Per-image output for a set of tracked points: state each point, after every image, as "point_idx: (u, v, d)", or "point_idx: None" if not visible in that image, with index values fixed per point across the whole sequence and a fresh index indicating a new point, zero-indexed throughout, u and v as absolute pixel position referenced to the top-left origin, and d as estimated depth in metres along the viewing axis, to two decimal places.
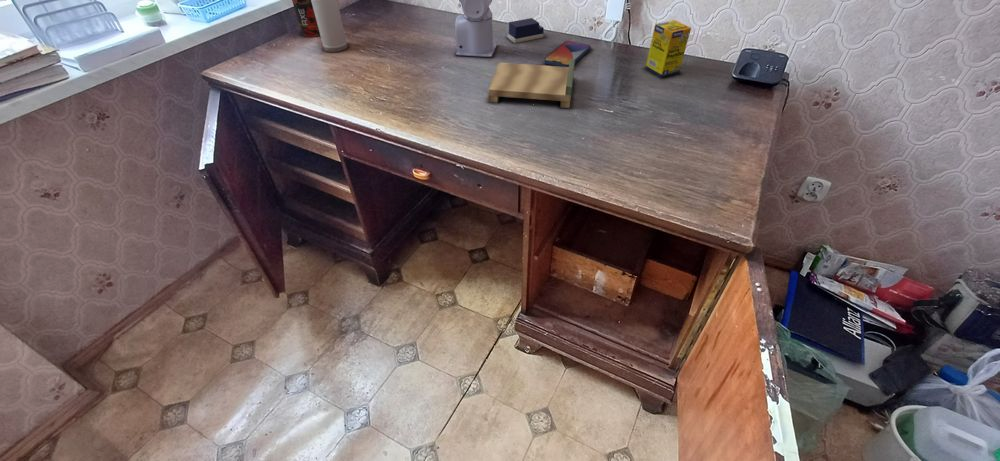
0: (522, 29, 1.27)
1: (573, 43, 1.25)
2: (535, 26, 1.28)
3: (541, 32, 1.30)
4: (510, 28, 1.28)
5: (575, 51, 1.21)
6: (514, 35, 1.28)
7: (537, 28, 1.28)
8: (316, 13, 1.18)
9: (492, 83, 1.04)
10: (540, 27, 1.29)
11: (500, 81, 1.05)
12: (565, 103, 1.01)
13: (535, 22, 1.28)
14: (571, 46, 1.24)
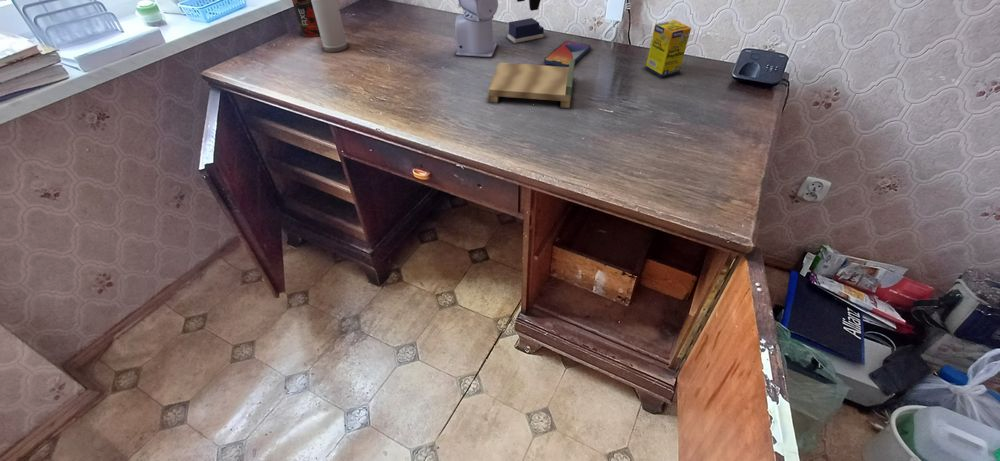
0: (522, 29, 1.27)
1: (573, 43, 1.25)
2: (535, 26, 1.28)
3: (541, 32, 1.30)
4: (510, 28, 1.28)
5: (575, 51, 1.21)
6: (514, 35, 1.28)
7: (537, 28, 1.28)
8: (316, 13, 1.18)
9: (492, 83, 1.04)
10: (540, 27, 1.29)
11: (500, 81, 1.05)
12: (565, 103, 1.01)
13: (535, 22, 1.28)
14: (571, 46, 1.24)
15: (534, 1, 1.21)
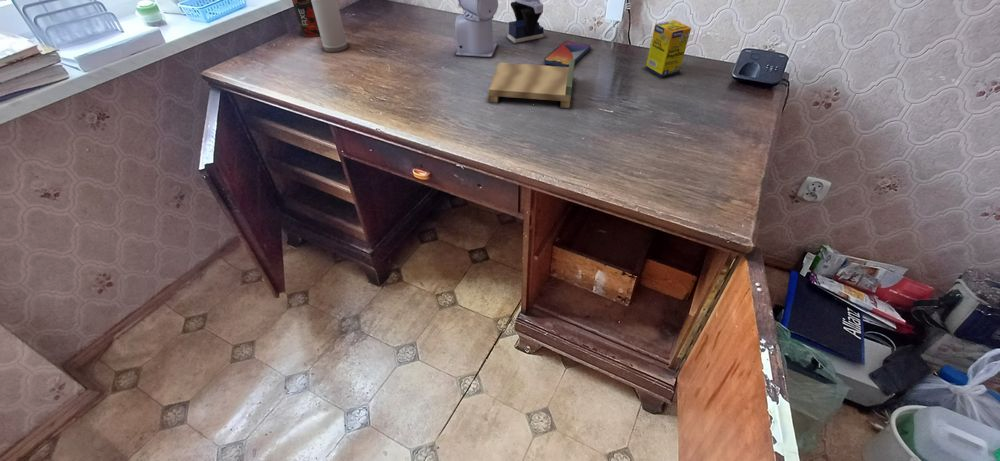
0: (522, 29, 1.27)
1: (573, 43, 1.25)
2: None
3: (541, 32, 1.30)
4: (510, 28, 1.28)
5: (575, 51, 1.21)
6: (514, 35, 1.28)
7: (537, 28, 1.28)
8: (316, 13, 1.18)
9: (492, 83, 1.04)
10: (540, 27, 1.29)
11: (500, 81, 1.05)
12: (565, 103, 1.01)
13: None
14: (571, 46, 1.24)
15: (529, 27, 1.26)
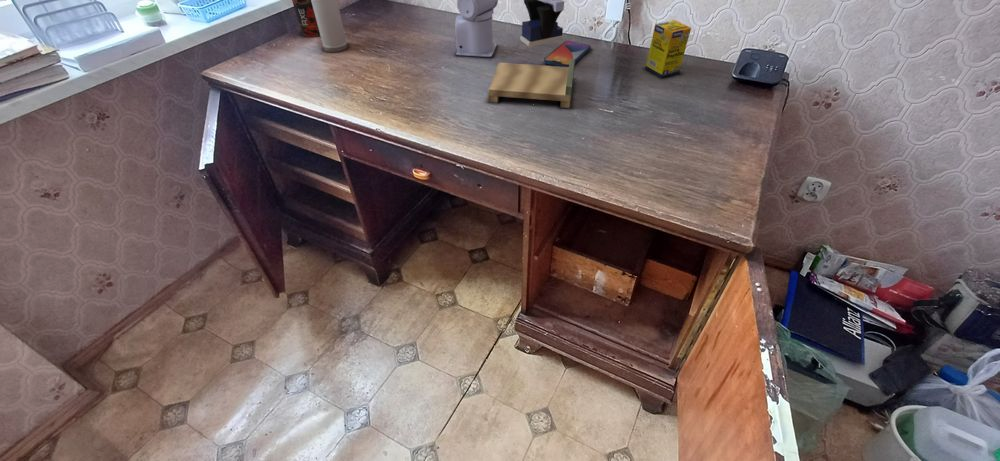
0: (538, 31, 1.07)
1: (573, 43, 1.25)
2: None
3: (560, 34, 1.10)
4: (523, 29, 1.09)
5: (575, 51, 1.21)
6: (528, 37, 1.08)
7: (555, 29, 1.09)
8: (316, 13, 1.18)
9: (492, 83, 1.04)
10: (559, 28, 1.10)
11: (500, 81, 1.05)
12: (565, 103, 1.01)
13: None
14: (571, 46, 1.24)
15: (547, 28, 1.07)
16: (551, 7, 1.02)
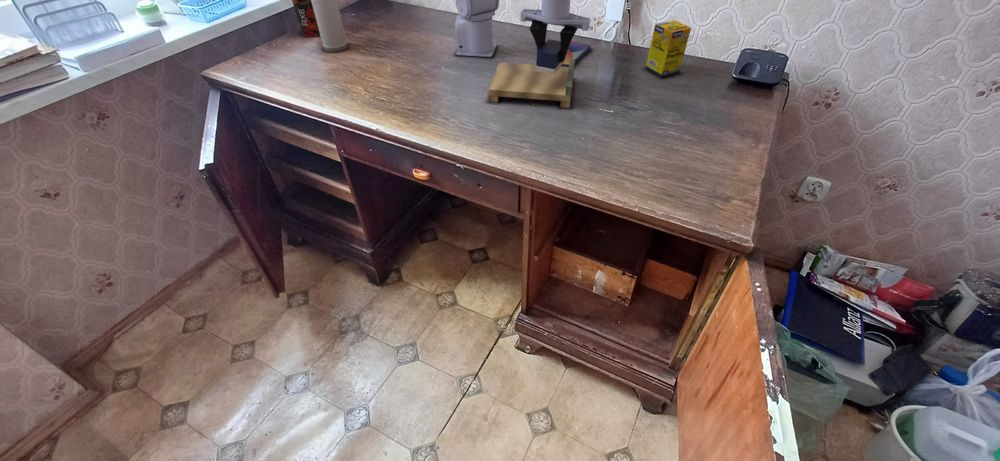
0: (558, 55, 0.99)
1: (573, 43, 1.25)
2: None
3: (566, 53, 1.04)
4: (540, 58, 0.99)
5: (575, 51, 1.21)
6: (551, 65, 0.99)
7: None
8: (316, 13, 1.18)
9: (492, 83, 1.04)
10: None
11: (500, 81, 1.05)
12: (565, 103, 1.01)
13: None
14: (571, 46, 1.24)
15: (564, 51, 1.00)
16: (575, 28, 0.95)
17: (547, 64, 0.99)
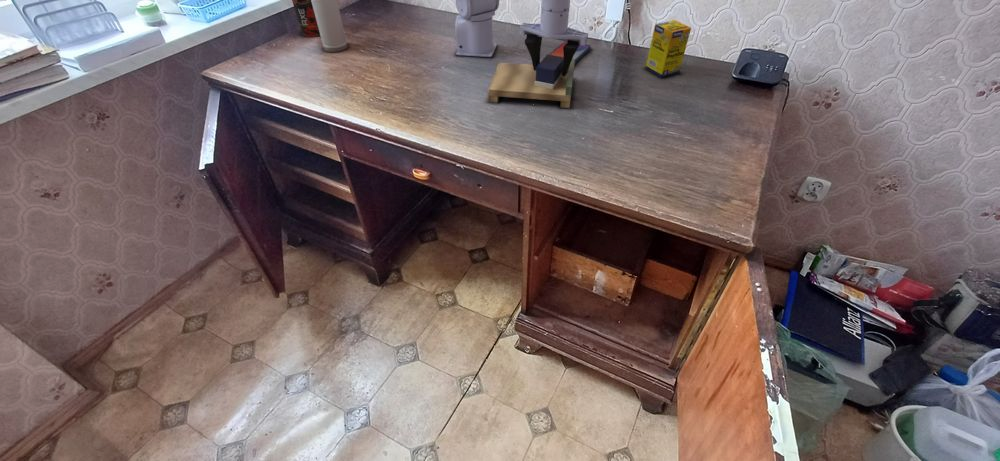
0: (557, 71, 1.01)
1: None
2: None
3: None
4: (540, 73, 1.01)
5: None
6: (550, 80, 1.01)
7: None
8: (316, 13, 1.18)
9: (492, 83, 1.04)
10: None
11: (500, 81, 1.05)
12: (565, 103, 1.01)
13: (561, 58, 1.04)
14: None
15: (567, 65, 1.01)
16: (578, 43, 0.97)
17: (546, 79, 1.01)
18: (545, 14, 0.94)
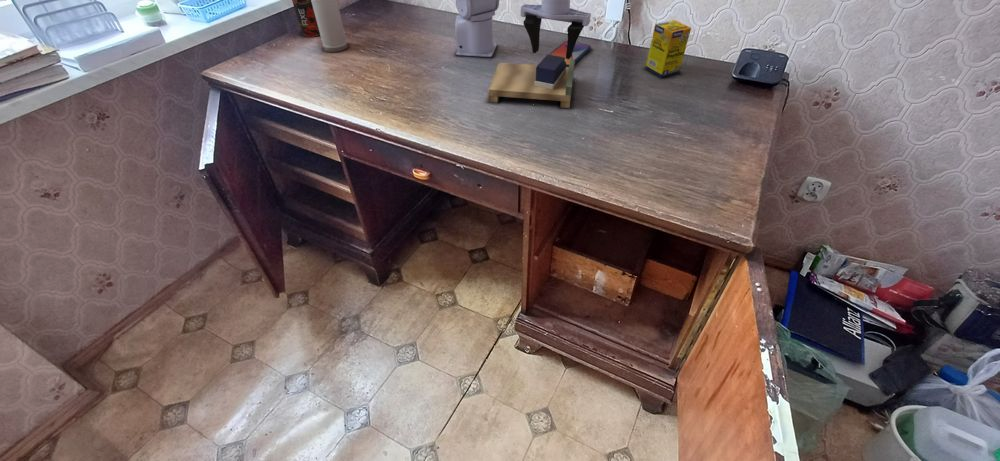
0: (557, 71, 1.01)
1: None
2: (563, 62, 1.04)
3: (565, 67, 1.07)
4: (540, 73, 1.01)
5: (575, 51, 1.21)
6: (550, 80, 1.01)
7: (563, 64, 1.05)
8: (316, 13, 1.18)
9: (492, 83, 1.04)
10: None
11: (500, 81, 1.05)
12: (565, 103, 1.01)
13: (561, 58, 1.04)
14: None
15: (571, 47, 0.99)
16: (582, 24, 0.94)
17: (546, 79, 1.01)
18: None
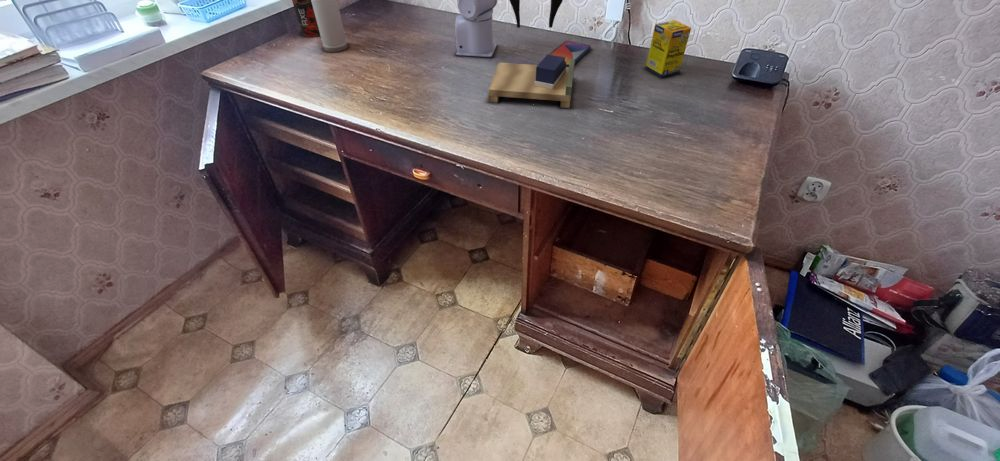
0: (557, 71, 1.01)
1: (573, 43, 1.25)
2: (563, 62, 1.04)
3: (565, 67, 1.07)
4: (540, 73, 1.01)
5: (575, 51, 1.21)
6: (550, 80, 1.01)
7: (563, 64, 1.05)
8: (316, 13, 1.18)
9: (492, 83, 1.04)
10: None
11: (500, 81, 1.05)
12: (565, 103, 1.01)
13: (561, 58, 1.04)
14: (571, 46, 1.24)
15: None
16: None
17: (546, 79, 1.01)
18: None
